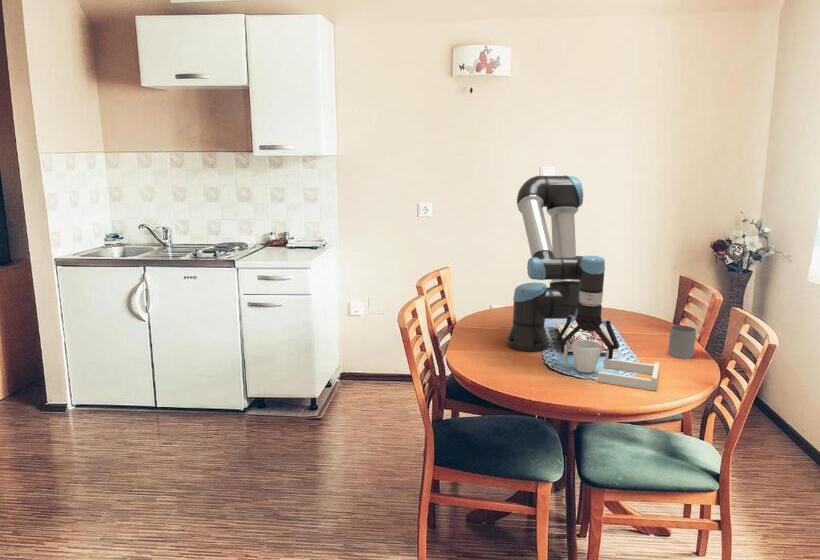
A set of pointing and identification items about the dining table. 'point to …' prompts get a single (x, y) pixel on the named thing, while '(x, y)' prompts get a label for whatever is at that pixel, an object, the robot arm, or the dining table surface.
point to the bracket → (630, 380)
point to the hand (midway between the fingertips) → (585, 365)
